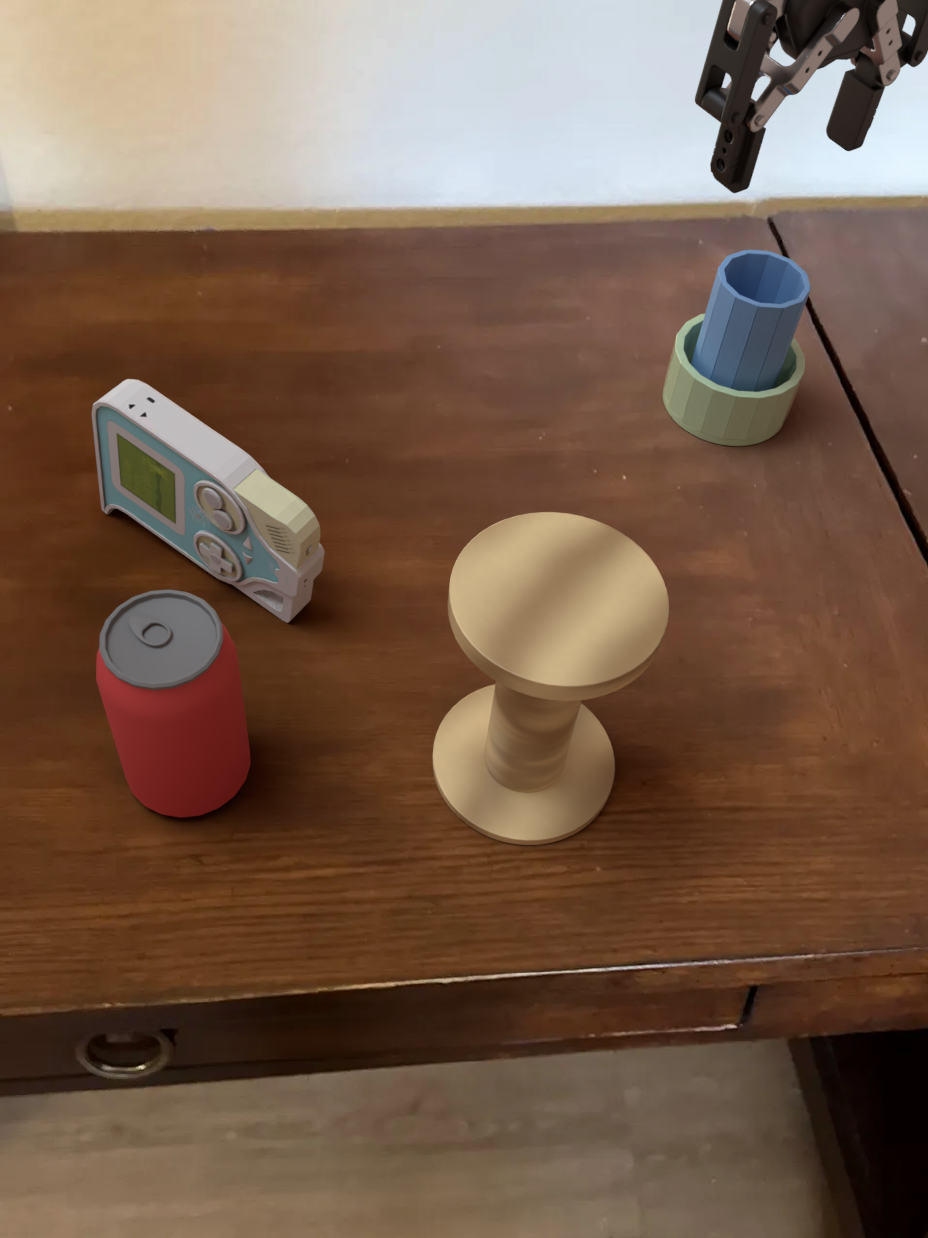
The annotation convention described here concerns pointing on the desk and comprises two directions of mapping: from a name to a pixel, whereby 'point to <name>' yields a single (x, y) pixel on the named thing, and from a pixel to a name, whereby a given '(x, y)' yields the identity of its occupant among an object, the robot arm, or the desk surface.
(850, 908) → the desk surface
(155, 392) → the handheld gaming console
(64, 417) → the desk surface
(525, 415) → the desk surface
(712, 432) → the green cup
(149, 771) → the beer can
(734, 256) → the blue cup
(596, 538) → the stand
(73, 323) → the desk surface
